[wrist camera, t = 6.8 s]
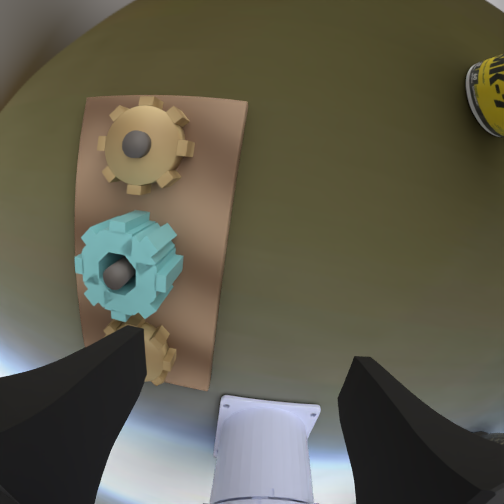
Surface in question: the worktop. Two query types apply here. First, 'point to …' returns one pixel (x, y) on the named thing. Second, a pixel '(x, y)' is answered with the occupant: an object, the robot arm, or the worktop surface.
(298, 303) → the worktop surface
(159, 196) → the gear board
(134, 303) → the teal gear
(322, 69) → the worktop surface
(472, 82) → the supplement bottle
